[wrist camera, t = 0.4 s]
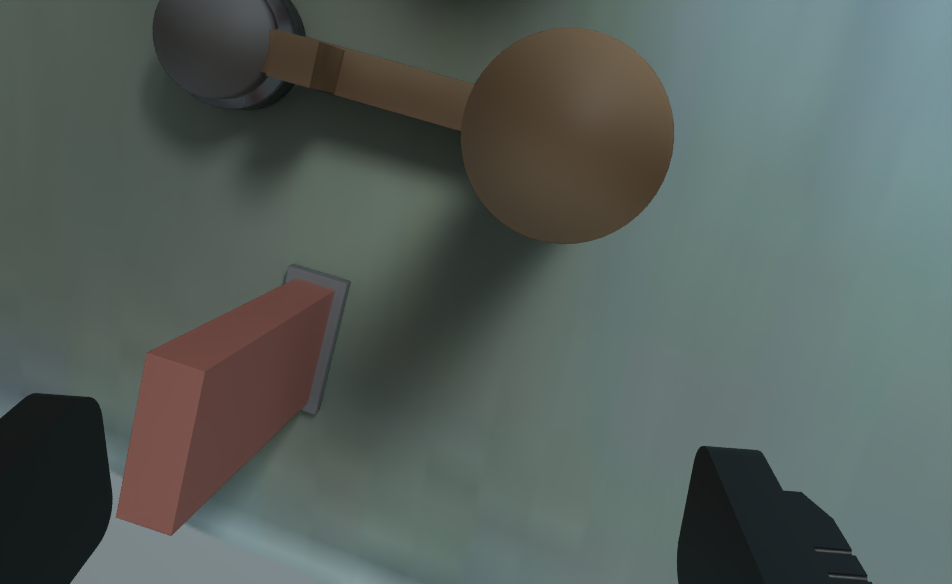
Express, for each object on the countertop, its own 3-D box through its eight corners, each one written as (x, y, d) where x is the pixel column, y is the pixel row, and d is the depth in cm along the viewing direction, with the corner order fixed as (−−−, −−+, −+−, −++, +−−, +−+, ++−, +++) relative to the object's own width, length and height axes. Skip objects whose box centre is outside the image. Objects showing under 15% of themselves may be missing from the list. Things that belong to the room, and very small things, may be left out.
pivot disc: (197, -39, 36) (175, -49, 34) (318, -5, 36) (303, -13, 34) (173, 90, 37) (151, 88, 36) (290, 124, 37) (274, 124, 35)
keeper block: (293, 263, 38) (134, 333, 25) (350, 281, 38) (223, 361, 25) (263, 393, 40) (99, 525, 26) (318, 410, 40) (182, 553, 26)
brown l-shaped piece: (200, -29, 36) (-162, -186, 18) (643, 95, 34) (707, 51, 17) (179, 84, 37) (-180, 37, 20) (607, 208, 36) (632, 277, 18)
